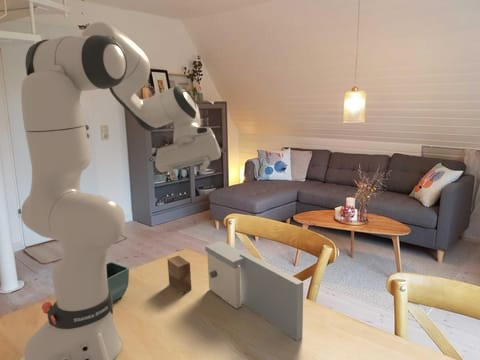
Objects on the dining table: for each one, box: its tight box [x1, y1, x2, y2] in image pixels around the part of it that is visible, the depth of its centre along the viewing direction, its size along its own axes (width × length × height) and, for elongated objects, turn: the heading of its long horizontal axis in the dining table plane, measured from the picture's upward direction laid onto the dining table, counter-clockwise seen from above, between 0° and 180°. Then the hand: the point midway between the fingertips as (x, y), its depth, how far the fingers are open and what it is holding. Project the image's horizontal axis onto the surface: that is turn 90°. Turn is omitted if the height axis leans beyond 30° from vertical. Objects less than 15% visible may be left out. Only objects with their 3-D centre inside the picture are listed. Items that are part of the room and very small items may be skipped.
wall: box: [204, 240, 304, 341], centre depth 101 cm, size 6×34×15 cm, turn 37°
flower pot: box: [106, 261, 130, 303], centre depth 110 cm, size 9×9×9 cm
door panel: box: [206, 252, 242, 309], centre depth 108 cm, size 3×14×12 cm, turn 37°
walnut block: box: [167, 255, 192, 295], centre depth 115 cm, size 4×7×9 cm, turn 37°
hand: (188, 175), depth 109 cm, fingers open, 8 cm apart
